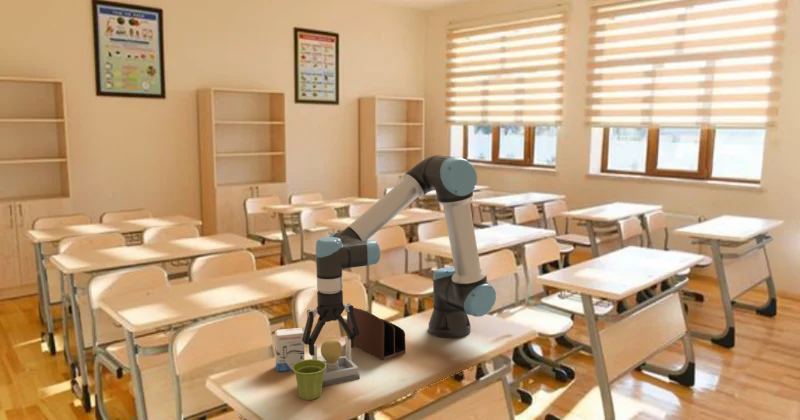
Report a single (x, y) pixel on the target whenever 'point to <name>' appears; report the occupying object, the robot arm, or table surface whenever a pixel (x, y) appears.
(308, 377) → the plant pot
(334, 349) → the light bulb
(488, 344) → the table surface
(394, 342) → the letter holder
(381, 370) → the table surface
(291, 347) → the ink box
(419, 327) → the table surface
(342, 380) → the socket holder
